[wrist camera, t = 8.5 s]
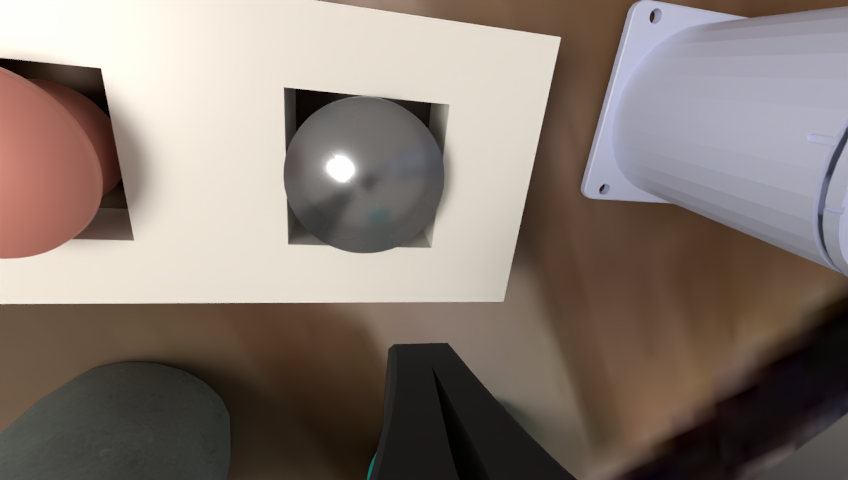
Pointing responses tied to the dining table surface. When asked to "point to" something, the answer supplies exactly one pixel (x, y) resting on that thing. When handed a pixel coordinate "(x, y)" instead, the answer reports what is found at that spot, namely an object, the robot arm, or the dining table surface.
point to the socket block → (279, 148)
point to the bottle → (121, 429)
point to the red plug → (50, 164)
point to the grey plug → (363, 175)
